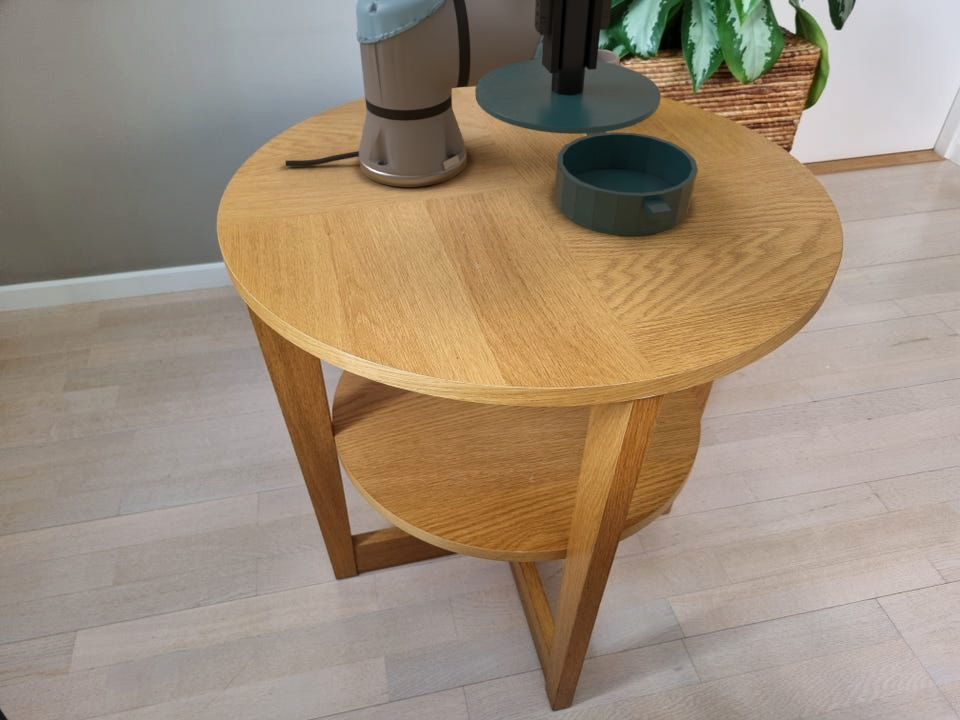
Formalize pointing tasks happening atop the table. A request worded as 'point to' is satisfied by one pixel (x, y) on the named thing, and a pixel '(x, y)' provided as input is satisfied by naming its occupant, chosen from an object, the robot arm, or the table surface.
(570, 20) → the lid
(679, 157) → the shallow round tub
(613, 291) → the table surface
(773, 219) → the table surface
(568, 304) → the table surface
